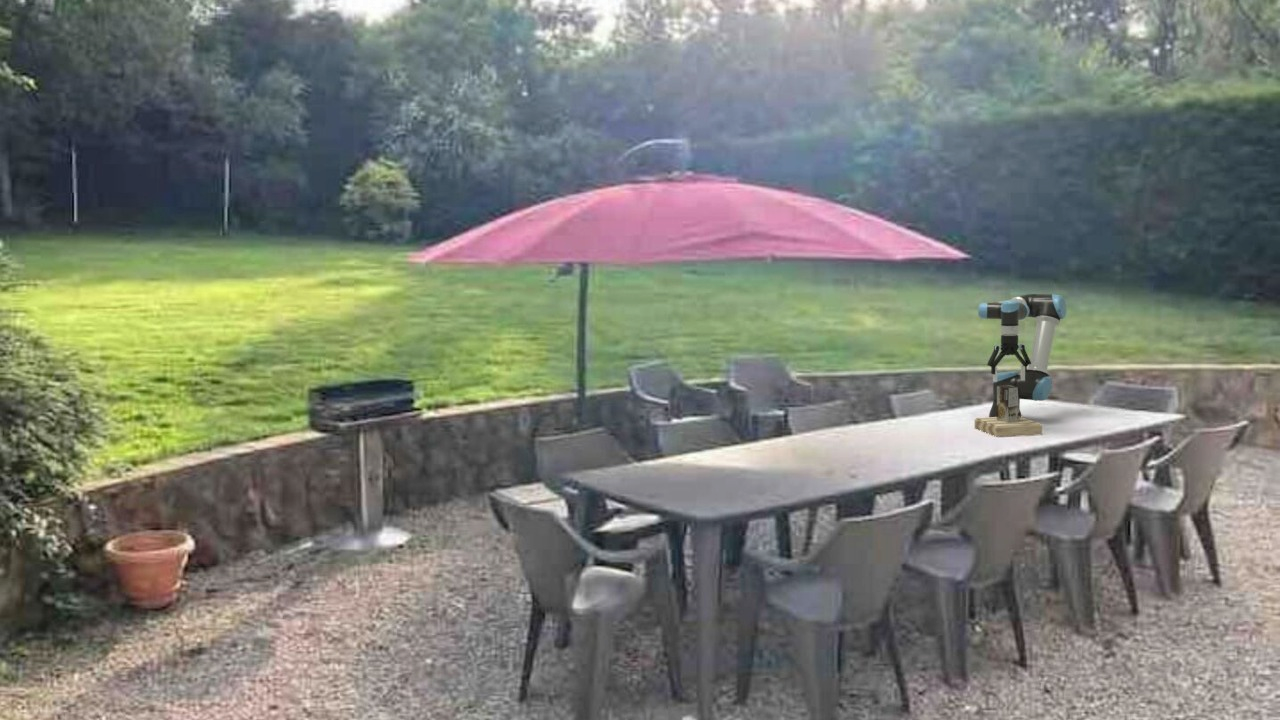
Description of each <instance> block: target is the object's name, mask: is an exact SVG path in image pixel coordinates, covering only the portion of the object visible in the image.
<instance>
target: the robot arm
mask: <svg viewBox="0 0 1280 720" xmlns="http://www.w3.org/2000/svg"><path fill="white" fill-rule="evenodd" d="M977 310H978V311H977V312H978V316H979V318H981V319H986V320H1001V321H1000V322H1001V323H1000V334H1001V335H1000V345H994V347H993V351H992V353H991V354H990V357H989V360H988V361H987V364H986V365H987V366H989V367H990V370H991V371H990V373H991V375H992V404H991V408H990V411H989V414H988V417H997V386H1001V385H1011V386H1017V387H1020V400H1026V401H1029V400H1030V401H1034V402H1035V401H1039V402H1042V401H1045V400H1047V399H1048V397H1049V396H1050V394H1051V393H1052V388H1053V381H1052V378H1051V377H1050V373H1049V372H1048V367H1049V366H1048V365H1049V361H1050V357H1051V353H1052V346H1053V340H1054V336H1055V330H1056V327H1057V326H1058V325H1059V324H1060V322H1061V320H1063V319H1065V318H1066V315H1067V304H1066V300H1065V298H1064V297H1063V296H1062V295H1061V294H1054V293H1052V294H1050V293H1049V294H1048V293H1047V294H1045V293H1044V294H1042V293H1029V294H1028V293H1027V294H1023V295H1018V296H1014V297H1012V298H1011V299H1007V300H1001V301H995V302H988V301H987V302H980V304H979V305H978V309H977ZM1026 318H1034V321H1035V323H1036V328H1035V332H1034V337H1033V343H1032V347H1031V353H1030V356H1029V355H1028V353H1027V351H1026V347H1025V344H1019V321H1020V320H1024V319H1026ZM1018 349H1019V350H1020V352H1019V351H1018ZM1020 353H1021V354H1020ZM1021 355H1022V356H1021ZM1005 356H1015V357H1016V358H1017V361H1019V362H1020V364H1021V365H1020V373H1019V371H1012V370H1011V371H1002V372H998V367H997V366H998V365H999V364H1000V362H1001V361H1002V359H1003V358H1004V357H1005ZM1019 410H1020V411H1019V416H1020V417H1022V412H1021V409H1019Z"/></svg>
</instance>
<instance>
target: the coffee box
mask: <svg viewBox="0 0 1280 720" xmlns="http://www.w3.org/2000/svg"><path fill="white" fill-rule="evenodd" d="M1020 401H1021V399H1020V387H1017V386H1011V385H1001V386H997V420H1000V421H1004V422H1019V411H1020V412H1021V409H1020ZM1019 409H1020V410H1019Z"/></svg>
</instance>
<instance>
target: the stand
mask: <svg viewBox="0 0 1280 720" xmlns="http://www.w3.org/2000/svg"><path fill="white" fill-rule="evenodd" d="M974 429H976V430H977V429H978V431H980V430H981V432H982V433H985V432H986V433H985V434H988V433H989V434H988V435H990V434H991V435H990V436H993V435H994V436H993V437H995V436H996V438H999V437H998V436H1006V437H1015V436H1014V435H1025V436H1035V435H1034V434H1042V435H1043V425H1041V423H1040V422H1037V421H1034V420H1031V419H1028V418H1025V417H1022V416H1021V417H1020V416H1019V422H1004V421H1000V420H997V417H989V416H987V417H975V419H974Z"/></svg>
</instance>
